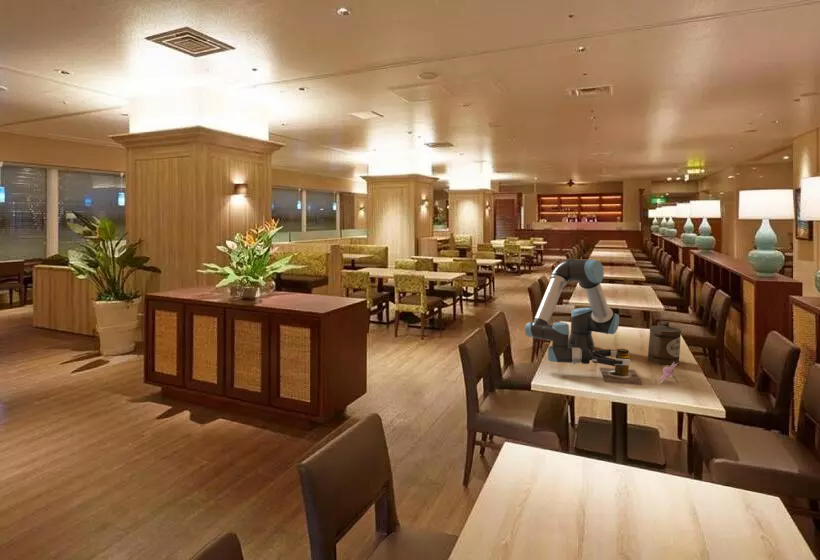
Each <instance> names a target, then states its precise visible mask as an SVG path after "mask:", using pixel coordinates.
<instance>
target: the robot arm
mask: <svg viewBox="0 0 820 560" xmlns="http://www.w3.org/2000/svg"><path fill="white" fill-rule="evenodd" d="M604 270H605V269H604V266H603V264H602V262H601V261H599V260H596V259H585V258H584V259H582V258H581V259H580V258H567V259H565V260H562V261H561V262H559V263H558V264H557V265H556V266H555V267H554V269H552V271H551V272H550V275H549V276H548V280H549V282H548V285H547V287H546V290H545V292H544V294H543V297H542V298H541V301H540V304H539V306H538V309H537V311H536V312H535V316H534V319H533V320H532V321H531V322H529V321H528V322H527V323H526V324H525V326H524V334H525V335H526V336H527V337H529V338H531V339H538V340H539V339H540V340H545V341H551V342H552V343H551V344H552V345H550V346H548V347H547V359H548V361H549V362H551V363H554V362H555V363H565V364H566V363H567V364H568V363H569V364H573V365H576V364H582V365H589V364H590V361H591V362H592V363H593V364H601V365H606V366H607V365H608V366H610V367H611V366H612V367H615V365H629V366H631V359H630V358H629V359H616V354H617V350H616V351H615V350H611V349H612V348H611V349H598V350H594V349H595V342H594V340H593V333H592V332H595V333H600V334H604V335H605V334H606V335H615V334H616V332H617V331H618V329H619V325H620V315H619V314H618V313H614V311H613V309H611V308H610V307H609V306H608V303H607V300H606V297H605V294H604V291H603V289H602V285H601V283H602V281H603V280H604V279H603V278H604V276H605V272H604ZM569 281H572V282H578V285H579V287H581V289H583V290H584V293H585V295H586V298H587V301H588V304H589V307H579V308H573V309H572V311H571V314H570V315H571V316H570V327H569V324H568V323H567V322H563V321H562V322H561V321H556V322H554V323H552V325H550V320H551V318H552V316H553V313H554V311H555V308H556V307H557V306H556V305H557V304H558V300H559V299H560V296H561V293H562V292H563V289H564V287H566V285H568V282H569ZM569 329H570V330H569Z"/></svg>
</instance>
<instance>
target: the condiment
mask: <svg viewBox="0 0 820 560" xmlns="http://www.w3.org/2000/svg"><path fill="white" fill-rule="evenodd" d="M616 351H617V354H616V357H615V359H630V354H629V353H630V352H629V350H628V349H626V348H617V349H616ZM614 368H615V372H611V373H609V374H611V375H614V376H618V377H621V378H622V377H625V376H629V375H632V374H629V373H628V372H629V369H630V365H615V366H614Z"/></svg>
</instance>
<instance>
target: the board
mask: <svg viewBox="0 0 820 560" xmlns="http://www.w3.org/2000/svg"><path fill="white" fill-rule="evenodd" d="M599 372H600V374H601V377H602V379H603V381H604V383H614V384H628V385H640V386H641V385H642V383H643V381H642V380H641V379H640V377H639V376H638V373H637V372H636V370H635V369H633V368H629V372H628V373H629V374H632V375H629V376H625V377H622V378H621V377H618V376H614V375H611V374H609V373H611V372H615V367H603V366H602V367H601V366H600V367H599Z"/></svg>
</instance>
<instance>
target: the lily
mask: <svg viewBox="0 0 820 560" xmlns="http://www.w3.org/2000/svg"><path fill="white" fill-rule="evenodd" d="M674 363H675V362H674ZM674 363H673V364H672V365H671V366H664V367H663V369H662V373H663V374H662V375H661V377H659V379H660V382H659V383H661V384H662V383H663V382H664V380H665V379H666V378H669V377H671V378H672V377H673V378H674V379H675V381H676V382H677V383H679V381H678V379H677V378H676V377H675V375H674V369H675V367H676V366H678V365H679V364H678V363H677V364H678V365H677V364H674Z"/></svg>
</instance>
